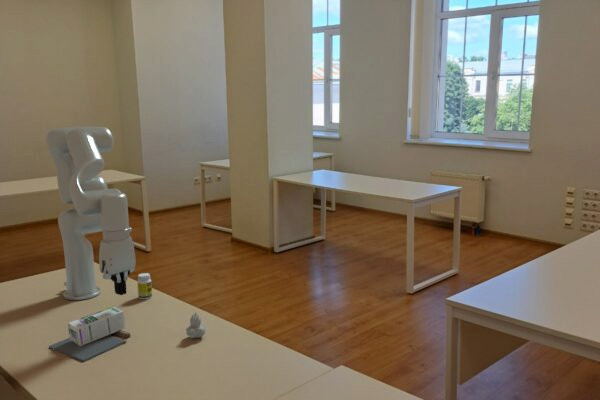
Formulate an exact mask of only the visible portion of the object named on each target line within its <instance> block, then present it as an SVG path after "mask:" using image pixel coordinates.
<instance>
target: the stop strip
mask: <svg viewBox="0 0 600 400" xmlns="http://www.w3.org/2000/svg"><path fill="white" fill-rule="evenodd" d="M113 334H114V335H117V336H120V337H123V338H126V339H129V338H131V333H130V332H128V331H125V330H123V329H122V330H119V331H117V332H114V333H113Z"/></svg>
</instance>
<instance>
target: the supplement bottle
mask: <svg viewBox="0 0 600 400" xmlns="http://www.w3.org/2000/svg"><path fill="white" fill-rule="evenodd" d="M152 288H153V287H152V279H151V275H150V273H148V272H145V273H140V274H139V273H138V275H137V295H138V299H139V300H149V299H152V298H153V289H152Z"/></svg>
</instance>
